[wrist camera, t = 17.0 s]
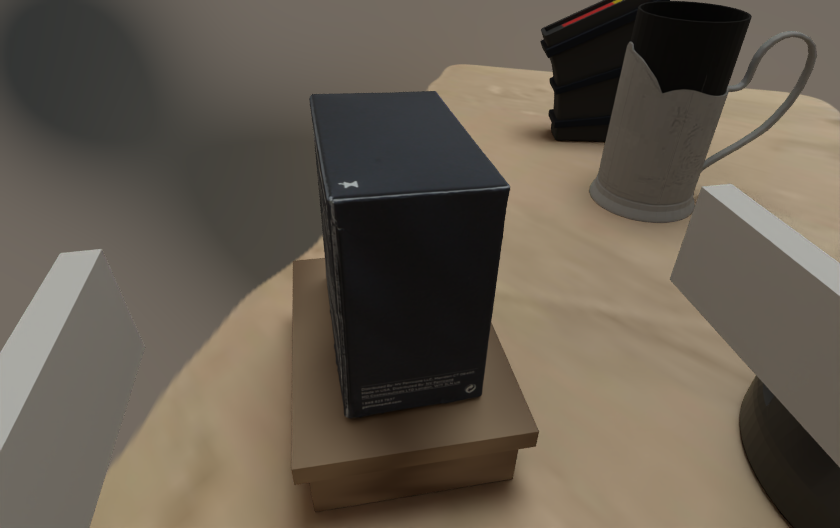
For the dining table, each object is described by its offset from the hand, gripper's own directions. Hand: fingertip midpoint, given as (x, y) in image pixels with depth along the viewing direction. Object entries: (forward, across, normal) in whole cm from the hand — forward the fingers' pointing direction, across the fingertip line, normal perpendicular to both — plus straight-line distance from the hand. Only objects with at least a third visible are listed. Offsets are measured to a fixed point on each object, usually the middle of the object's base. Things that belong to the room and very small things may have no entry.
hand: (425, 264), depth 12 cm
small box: (+10, 0, -12) cm, 15 cm away
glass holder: (+27, +27, -16) cm, 42 cm away
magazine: (+41, +26, -17) cm, 51 cm away
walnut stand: (+10, 0, -16) cm, 18 cm away
